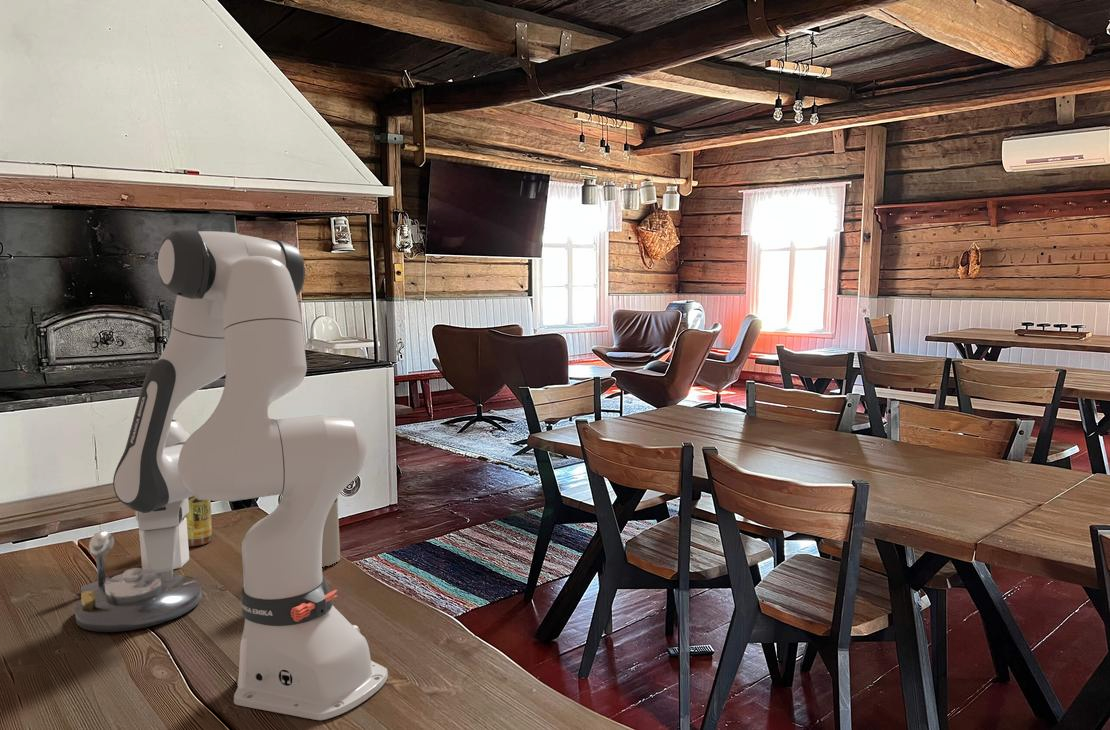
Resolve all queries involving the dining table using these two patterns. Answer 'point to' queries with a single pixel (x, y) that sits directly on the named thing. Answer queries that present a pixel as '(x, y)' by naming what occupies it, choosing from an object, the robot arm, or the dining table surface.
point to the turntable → (138, 607)
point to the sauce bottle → (199, 522)
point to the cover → (133, 587)
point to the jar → (181, 550)
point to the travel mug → (331, 537)
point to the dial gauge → (99, 557)
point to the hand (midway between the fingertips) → (167, 578)
